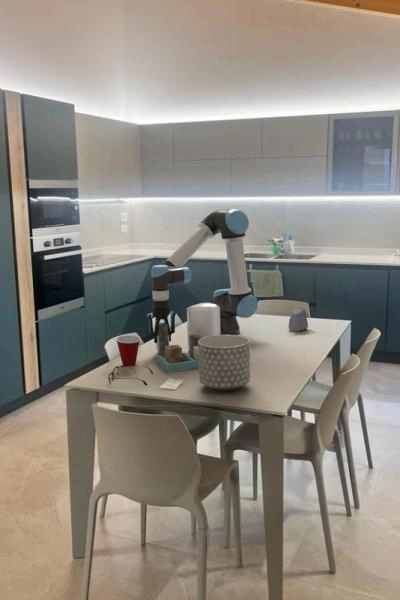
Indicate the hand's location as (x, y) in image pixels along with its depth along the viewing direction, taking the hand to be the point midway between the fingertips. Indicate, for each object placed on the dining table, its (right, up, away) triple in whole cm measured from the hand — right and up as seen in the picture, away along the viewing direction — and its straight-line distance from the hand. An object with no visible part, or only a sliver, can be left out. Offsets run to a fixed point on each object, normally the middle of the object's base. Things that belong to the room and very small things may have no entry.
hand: (162, 349), depth 263 cm
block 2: (+17, -4, -13) cm, 21 cm away
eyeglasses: (-10, -10, -36) cm, 38 cm away
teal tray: (+12, -5, -16) cm, 21 cm away
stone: (+69, +7, +38) cm, 79 cm away
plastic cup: (-13, -6, -16) cm, 22 cm away
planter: (+26, -11, -49) cm, 57 cm away
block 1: (+3, -3, -8) cm, 9 cm away
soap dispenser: (+21, -1, +6) cm, 22 cm away
